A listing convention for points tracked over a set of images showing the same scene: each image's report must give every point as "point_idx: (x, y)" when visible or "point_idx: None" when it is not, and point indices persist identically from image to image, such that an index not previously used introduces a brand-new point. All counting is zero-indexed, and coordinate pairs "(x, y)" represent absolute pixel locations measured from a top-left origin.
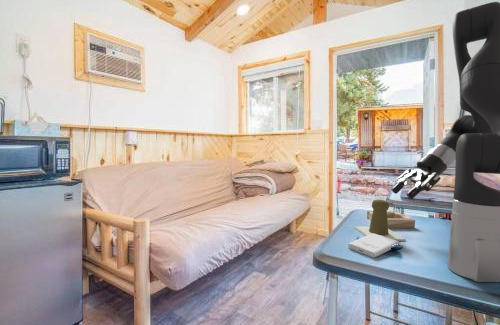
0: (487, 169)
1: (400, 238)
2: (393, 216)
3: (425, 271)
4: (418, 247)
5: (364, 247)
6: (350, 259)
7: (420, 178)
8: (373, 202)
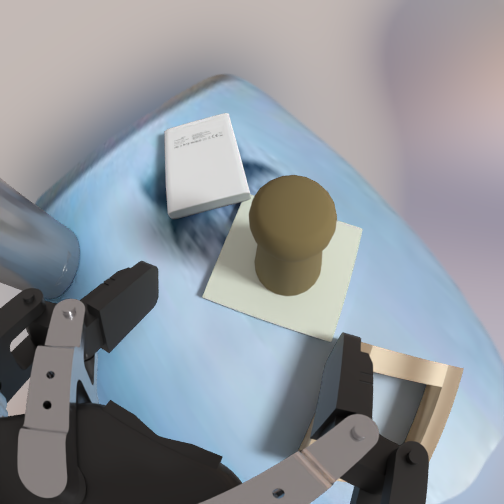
0: None
1: (212, 284)
2: None
3: (94, 186)
4: None
5: (192, 126)
6: (187, 102)
7: (36, 367)
8: (304, 177)
